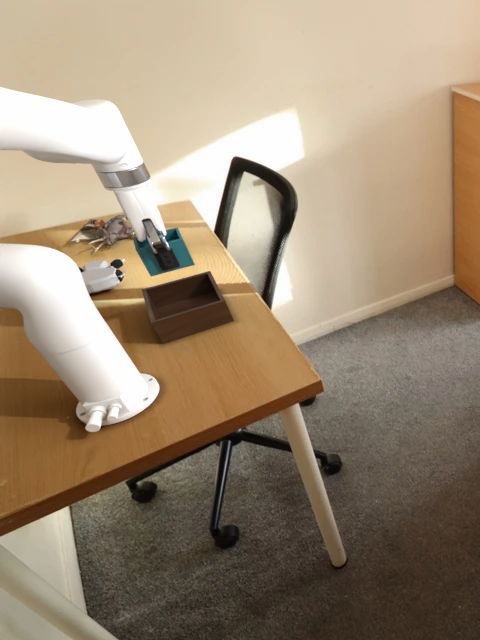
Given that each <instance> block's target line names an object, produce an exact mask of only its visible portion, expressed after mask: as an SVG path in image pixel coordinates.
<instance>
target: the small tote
mask: <svg viewBox="0 0 480 640" xmlns="http://www.w3.org/2000/svg"><path fill="white" fill-rule="evenodd" d="M165 230H166V233H167V234H166V236H164V237H165V239H166V241H167V243H168V245H169V247H170V248H172V250H173V252H174V254H175V256H176V258H177V260H178V262H179V264H180V266H179V267H177V268H173V269H169V270H165V271H163V270H162V269H161V267H160V265H159V263H158V261H157V259H156V258H155V256H154V254H153V252H154V251H153V249H152V247H151V245H150V243H149V241H148V240H147V237H146V240H143V242H141V241H139V240H138V239H137V237H132V241H133V244H134V247H135V251H136V253H137V255H138V257H139V258H140V260H141V262H142V263H143V266H144V267H145V269H146V271H147V273H148V274H149V277H155V276H159V275H162V274H166V273H171V272H173V271H178V270H182V269H186V268H189V267H193V266H196V263H195V262H194V259H193V257H192V255H191V253H190V251H189V249H188V247H187V244H186V241H185V240H184V238H183V235H182V233H181V231H180V229H179V227H178V226H177V227H172V228H169V229H165ZM157 235H161V234H160V232H158V233H157ZM148 236H149V235H148ZM149 238H150V236H149ZM160 241H161V242H163V240H162V238H161V239H160ZM163 243H164V242H163Z"/></svg>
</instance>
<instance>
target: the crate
mask: <svg viewBox="0 0 480 640" xmlns="http://www.w3.org/2000/svg"><path fill="white" fill-rule="evenodd" d="M141 293H142V297H143V301H144V304H145V308H146V311H147V315H148V318H149V321H150V324H151V326H152V328H153V329H154V331H155V333H156V335H157V336H158V338H159V339H160V341H161V343H162V344H163V345H165V344H167V343H171V342H174V341H177V340H180V339H182V338H187V337H189V336H192V335H195V334H198V333H201V332H204V331H207V330H210V329H213V328H216V327H221V326H222V325H225V324H228V323H232V322H234V321H235V319H234V317H233V315H232V312H231V310H230V308H229V306H228V303H227V301H226V299H225V298H224V295H223V293H222V291H221V289H220V287H219V286H218V283H217V282H216V280H215V278H214V276H213V273H212V271H211V270H208V271H204V272H201V273H197V274H193V275H190V276H186V277H182V278H178V279H175V280H171V281H167V282H164V283H160V284H156V285H153V286H149V287H146V288H142V289H141Z"/></svg>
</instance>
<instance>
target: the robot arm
mask: <svg viewBox="0 0 480 640" xmlns="http://www.w3.org/2000/svg"><path fill="white" fill-rule="evenodd" d="M0 151H20V152H21V151H22V152H23V153H25V155H27V156H28V157H31V158H33V159H35V160H38V161H41V162H44V163H53V164H84V165H86V164H87V165H91V166H92V168H93V170H94V172H95V173H96V175H97V178H98V179H99V181H100V182H101V185H102V186H103V188H104V189H105V190H107V191H111V192H113V193H114V196H115V198H116V200H117V202H118V204H119V206H120V208H121V210H122V212H123V215H125V216H126V217H127V219H128V221H127V222H128V223H129V225H130V227H132V229H133V233H135V235H136V237H137V239H138V240H139V241H141V242H143V240H146V237H147V240H148V241H149V243H150V245H151V247H152V249H153V251H154V252H153V254H154V256H155V258H156V259H157V261H158V263H159V265H160V267H161V269H162V270H163V271H165V270H169V269H173V268H177V267H179V266H180V264H179V262H178V260H177V258H176V256H175V254H174V252H173V250H172V248H170V247H169V245H168V243H167V241H166V239H165V237H164V236H166V234H167V233H166V230H167V229H166V226H165V223H164V221H163V217H162V215H161V212H160V210H159V208H158V205H157V203H156V201H155V198H154V196H153V194H152V192H151V190H150V189H149V186H148V185H149V184H150V183H151V182H152V181H153V178H152V176H151V174H150V172H149V170H148V167H147V165H146V163H145V161H144V159H143V157H142V155H141V153H140V151H139V149H138V146H137V145H136V142H135V140H134V139H133V136H132V134H131V132H130V129H129V128H128V126H127V124H126V122H125V119H124V118H123V115H122V113H121V112H120V109H119V108H118V107H117V105H116V104H115V103H113V102H112V101H110V100H108V99H107V100H106V99H101V98H97V99H96V98H94V99H93V98H92V99H84V100H77V101H74V102H66V101H63V100H59V99H55V98H50V97H46V96H42V95H37V94H33V93H28V92H24V91H19V90H15V89H11V88H6V87H2V86H0ZM158 232H160V234H161V235H157V233H158ZM148 235H149V236H150V238H149V236H148ZM161 238H162V240H163V242H164V243H163V242H161V241H160V239H161ZM78 267H79V266H78V264H77V263H76V262H75V260H73V259H72V258H71V257H70V256H69V255H67V254H65V253H64V252H62V251H60V250H57V249H56V248H52V247H48V246H44V245H37V244H27V243H26V244H25V243H0V308H2V309H14V310H17V311H18V312H19V313H20V314H21V315H22V319H23V331H24V334H25V336H26V338H27V340H28V341H29V342H30V344H31V345H32V346H33V347H34V349H35V350H36V351H37V352H38V354H40V355H41V357H42V358H43V359H44V360H45V362H46V363H47V364H48V365H49V366H50V367H51V369H52V370H53V371H54V372H55V374H56V375H57V376H58V377H59V378H60V380H61V381H62V382H63V383H64V385H65V386H66V387H67V388H68V389H69V391H70V392H71V393H72V395H74V397H75V398H76V399H77V400H78V403H77V404H76V408H75V414H76V416H77V418H78V419H79V420H80V422H82V423H83V424H85V427H84V429H85V430H86V432H89V433H97V432H99V431H100V430H101V427H102V426H103V427H104V426H110V425H114V424H118V423H121V422H123V421H126V420H128V419H131V418H133V417H135V416H137V415H138V414H140V413H141V412H143V411H145V409H147V408H148V407H150V406H151V404H153V402H154V401H155V400H156V399H157V397H158V395H159V393H160V384H159V382H158V380H157V379H156V378H155V377H154V376H152V375H151V374H147V373H142V372H140V371H139V369H138V368H137V367H136V365H135V364H134V362H133V361H132V359H131V358H130V356H129V355H128V353H127V352H126V350H125V348H124V347H123V345H122V343H120V341H119V340H118V338H117V337H116V335H115V334H114V331H112V329H111V328H110V326H109V325H108V323H107V322H106V320H105V319H104V318H103V316H102V315H101V312H100V311H99V310H98V308H97V307H96V305H95V303H94V301H93V299H92V298H91V296H90V294H89V293H88V291H87V288H86V286H85V283H84V280H83V277H82V274H81V272H80V270H79V268H78Z"/></svg>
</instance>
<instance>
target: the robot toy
mask: <svg viewBox="0 0 480 640" xmlns="http://www.w3.org/2000/svg"><path fill="white" fill-rule="evenodd" d="M125 262H126V259H125V258H116V259H114V260H112V261H111V262H110V263H109V262H108V261H106V260H104V259H97V260H92V261H89V262H87V263H84V265H83V266H82V267H81V266H78V268H79V270H80V272H81V274H82V277H83V280H84V283H85V286H86V288H87V291H88V293H89V295H90V294H95V293H99V292H102V291H106V290H107V291H108V290H113V289H115V288H117V287H118V286H119V285H120V284H121V282H122V281H123V280H124V277H126V273H125V272H123V271H122V270H121V269H120V268H122V267H123V266H124V263H125Z"/></svg>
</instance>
